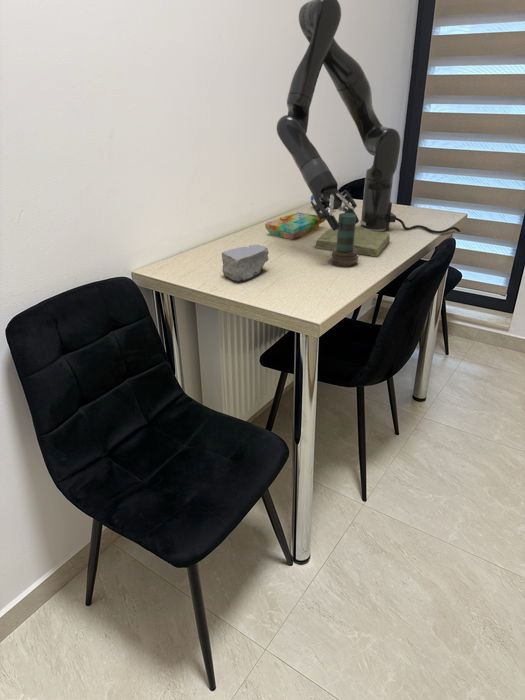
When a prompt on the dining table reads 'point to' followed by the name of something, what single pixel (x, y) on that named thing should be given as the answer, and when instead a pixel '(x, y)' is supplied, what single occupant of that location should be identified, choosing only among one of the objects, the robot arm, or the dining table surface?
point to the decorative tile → (357, 241)
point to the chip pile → (344, 258)
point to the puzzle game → (293, 225)
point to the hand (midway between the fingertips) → (346, 226)
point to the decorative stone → (244, 262)
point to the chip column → (346, 232)
